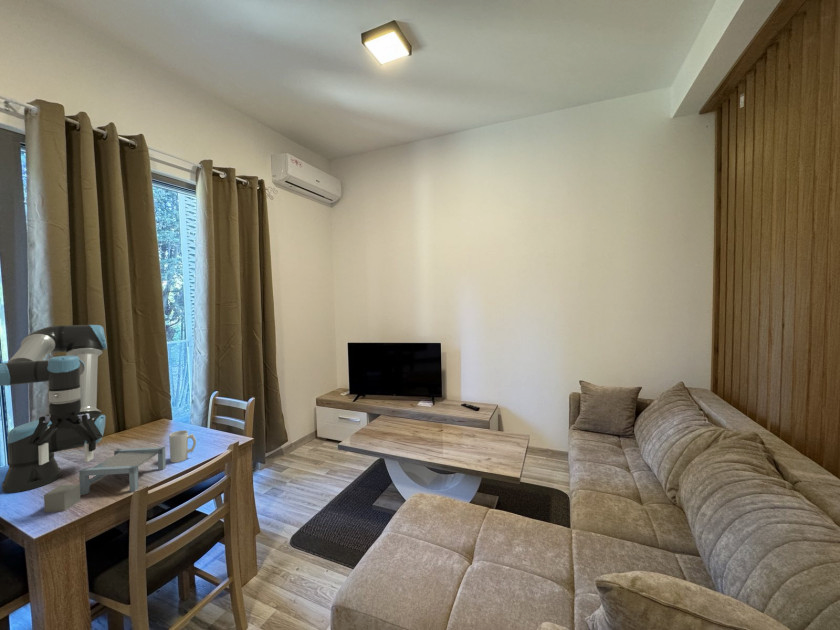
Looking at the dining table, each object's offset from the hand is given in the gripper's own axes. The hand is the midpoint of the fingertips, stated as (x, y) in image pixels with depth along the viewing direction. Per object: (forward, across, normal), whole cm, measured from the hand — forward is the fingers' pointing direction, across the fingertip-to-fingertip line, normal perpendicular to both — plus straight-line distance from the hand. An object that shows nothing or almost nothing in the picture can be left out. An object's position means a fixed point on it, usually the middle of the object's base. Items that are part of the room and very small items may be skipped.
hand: (66, 461), depth 116 cm
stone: (+15, -1, -1) cm, 15 cm away
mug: (+15, +21, +31) cm, 41 cm away
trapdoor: (+8, +9, +15) cm, 19 cm away
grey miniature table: (+15, +9, +15) cm, 23 cm away
